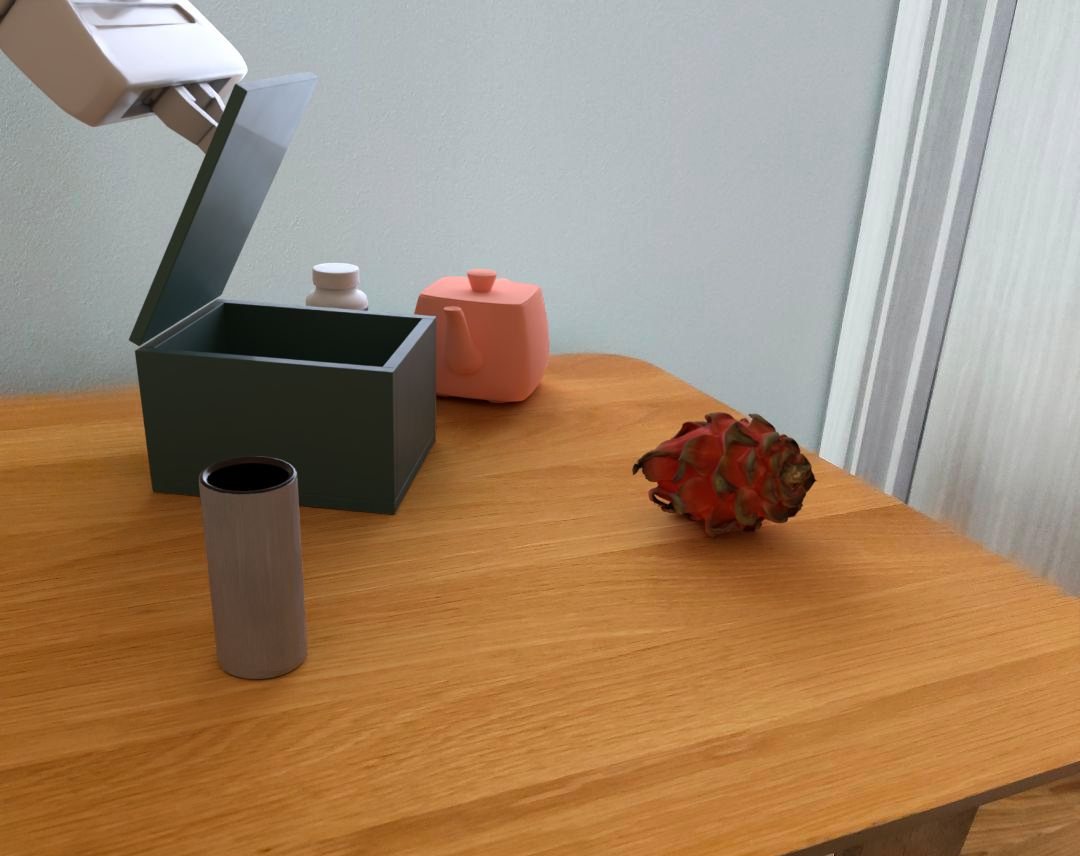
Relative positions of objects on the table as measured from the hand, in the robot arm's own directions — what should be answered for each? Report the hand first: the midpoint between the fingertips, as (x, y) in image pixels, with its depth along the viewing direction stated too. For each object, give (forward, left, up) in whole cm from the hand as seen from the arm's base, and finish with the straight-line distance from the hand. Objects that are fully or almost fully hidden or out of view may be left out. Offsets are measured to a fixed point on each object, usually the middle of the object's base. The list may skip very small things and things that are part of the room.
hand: (235, 155), depth 68 cm
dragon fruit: (+24, +23, -21) cm, 40 cm away
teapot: (-7, +23, -21) cm, 32 cm away
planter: (+24, -9, -21) cm, 34 cm away
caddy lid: (-1, 0, -3) cm, 3 cm away
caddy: (+2, +3, -21) cm, 22 cm away
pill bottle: (-16, +14, -21) cm, 30 cm away
